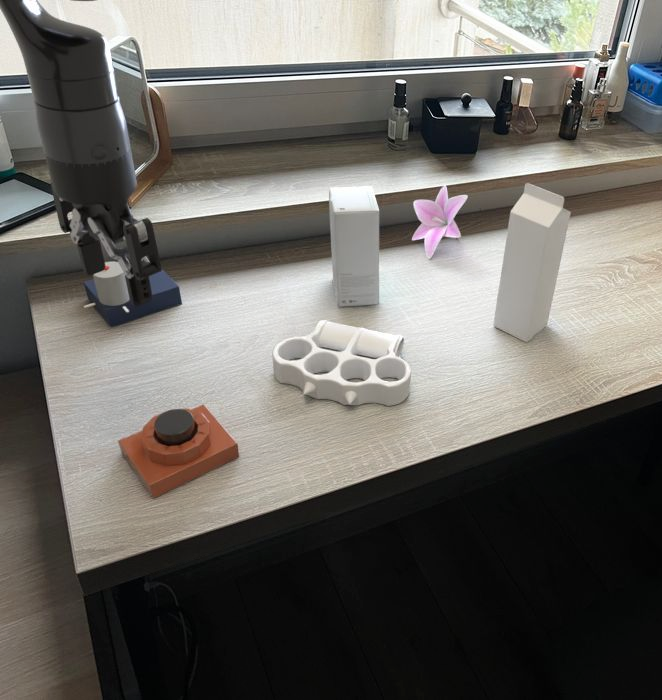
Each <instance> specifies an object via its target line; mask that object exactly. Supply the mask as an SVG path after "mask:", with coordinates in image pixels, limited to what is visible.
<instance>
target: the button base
mask: <svg viewBox="0 0 662 700" xmlns="http://www.w3.org/2000/svg"><path fill="white" fill-rule="evenodd" d="M181 409H182V410H186V411H188V412H190V413H191V414H192V415H193V418H194V423H195V428H196V432H195V435H194V437H193V438H192V439H191V440H190V441H188V442H186V443H184V444H181V445H177V446H166V445H163V444H162V443H160V442H159V441H158V439H157V435H156V431H155V427H154V423H155V420H156V419H157V417H158V416H159V415H161V414H162V413H164V412H165V411H163V412H161V413H159V414H157V415H154V416H153V417H152V418H151V419H150V420H149V421H148V422H147V423H146V424H145V425H144V426H143V427H142V430H140V431H138V432H135V433H133V434H130V435H129V436H126V437H124V438H121V439H119V440H118V441H117V443H118V446H119V450H120V453H121V455H122V457H123V459H124V460H125V461H126V463H127V464H128V465H129V467H130V468H131V470H132V471H133V472H134V474H135V476H136V477H137V478H138V480H139V481H140V483H141V484H142V486H143V487H144V488H145V490H146V491H147V492H148V494H149V495H150V496H151V498H152V499H155V498H158V497H160V496H162V495H164V494H166V493H168V492H170V491H172V490H174V489H176V488H179V487H180V486H182V485H184V484H187V483H189V482H190V481H193V480H194V479H196V478H198V477H201V476H203V475H205V474H207V473H209V472H211V471H213V470H215V469H217V468H219V467H221V466H223V465H225V464H227V463H230V462H232V461H234V460H236V459H238V458H239V457H240V451H239V444H238V442H237V440H236V439H234V438H233V436H232V435H231V434H230V432H229V431H227V429H226V428H225V427H224V426H223V424H221V422H220V421H219V419H217V418H216V416H214V414H213V413H212V412H211V411H210V410H209V409H208V407H207V406H206V405H205V404H201V405H198V406H196V407H194V408H191V409H190V408H181ZM169 410H170V409H168V410H167V411H169Z"/></svg>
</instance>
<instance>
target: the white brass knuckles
mask: <svg viewBox="0 0 662 700" xmlns="http://www.w3.org/2000/svg"><path fill="white" fill-rule="evenodd" d="M404 343H405V337H404V336H402V334H401V335H400V334H396V335H395V334H391V333H387V332H381V331H378V330H377V331H376V330H371V329H367V328H365V327H362V326H361V327H357V326H351V325H347V324H342V323H338V322H334V321H330V320H328V319H321V320H319V321H318V322H317V323H316V326H315V328H314V330H313V332H312V333H310V334H308V335H306V336H293V337H289V338H286V339H283V340H282V341H280V342H278V343H277V344H276V345H275V346H274V348H273V350H272V364H273V374H274V377H275V379H276V380H277V381H278V382H279V383H281V384H284V385H285V384H286V385H292V386H295V387H297V388H299V389H301V391H302V392H303V393H302V395H307V396H309V397H311V398H313V399H316V400H331V401H334V402H337V403H339V404H341V405H343V406H361V405H363V404H370V403H371V404H374V403H375V404H380V405H384V406H386V407H392V406H397V405H398V404H401V403H403V402H404V401H405V400H407V398H408V396H409V395H410V391H411V381H412V379H411V378H412V369H411V367H410V365H409V364H408V362H407V361H405V360H404V359H403V358H401V357H400V356H401V353H402V351H403V347H404ZM295 359H296V360H295ZM323 372H327V373H323ZM317 373H323V374H317ZM385 378H393V379H397V380H396V381H387V380H384V379H385ZM352 379H360V380H363V381H358V382H354V381H353V382H352V381H348V380H352Z"/></svg>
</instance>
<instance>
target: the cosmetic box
mask: <svg viewBox="0 0 662 700" xmlns="http://www.w3.org/2000/svg"><path fill="white" fill-rule="evenodd" d="M328 206H329V226H330V228H329V229H330V247H331V249H330V251H331V267H332V281H333V282H332V283H333V289H334V295H335V300H336V304H337V307H339V308H340V307H342V308H343V307H359V306H360V307H361V306H375V305H379V304H380V209H379V205H378V202H377V198H376V195H375V191H374V189H373V186H371V185H369V186H347V187H342V186H341V187H329V188H328Z"/></svg>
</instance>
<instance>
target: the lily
mask: <svg viewBox="0 0 662 700" xmlns="http://www.w3.org/2000/svg"><path fill="white" fill-rule="evenodd" d="M468 197H469V195H467V194H460V195H455V196H452V197H450V198H449V193H448V187H447V184H446V183H444V184H443V185H442V186H441V188H440V190H439V192H438V194H437V196H436V198H435V201H433V200H430V199H415V200H414V201H413V204H412V205H413V209H414V212H415V214H416V216H417V219H418V220H419V222H420V225H419V226H418V227H417V229H416V230H415V232H414V233H413V235H412V237H411V241H417V240H422V239H424V243H423V244H424V251H425V255H426V257H427V259H428V260H430V259H431V258H432V257H433V255H434V253H435V251H436V250H437V247H438V245H439V244H440V241H441V240H442V238H443V237H446V238H453V239H454V238H455V239H456V240H457V239H460V238H462V234H461V231H460V229H459V227H458V224H457V223H456V221H455V217H456V215H457V214H458V212H459V211H460V209H461V208H462V207H463V205H464V204H465V203H466V201H467V200H468Z"/></svg>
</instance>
